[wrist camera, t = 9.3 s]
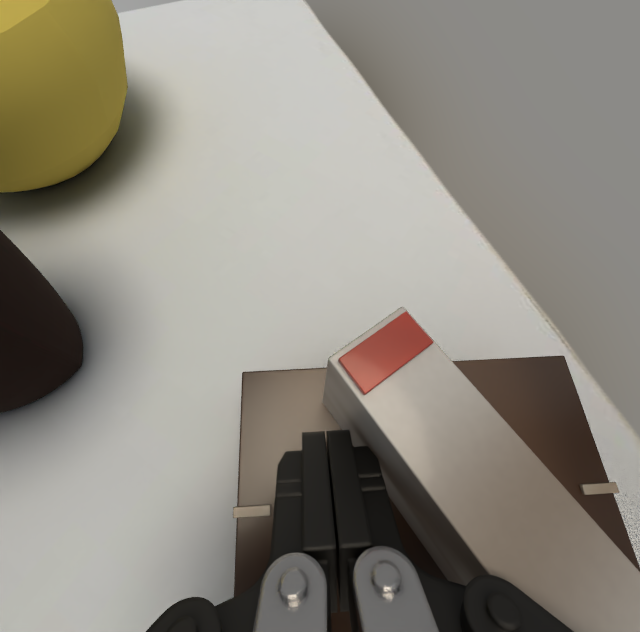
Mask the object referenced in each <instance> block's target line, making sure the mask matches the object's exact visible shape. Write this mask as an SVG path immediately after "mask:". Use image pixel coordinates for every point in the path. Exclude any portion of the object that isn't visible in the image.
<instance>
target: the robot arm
mask: <svg viewBox="0 0 640 632" xmlns="http://www.w3.org/2000/svg"><path fill="white" fill-rule="evenodd" d="M326 439H327V449H326ZM326 439H325V431H319V432H303V433H302V450H299V451H286V452H285V453H284V455H283V457H282V459H281V460H280V462H279V464H278V468H277V479H276V491H275V503H274V515H273V527H272V539H271V551H270V558H269V561H268V564H267V567H266V569H265V571H264V572H263V574H262V576H261V577H260V578H259V580H258V581H257V582H256V583H255V584H254V585H253V586H252V587H251V588H249V589H248V590H247V591H245V592H243V593H242V594H240V595H238V596H236V597H234V598H232V599H229V600H227V601H225V602H223V603H221V604H219V605H217V606H214V605H213V604H212V603H211V602H210V601H209V600H206V599H204V598H200V597H191V598H186V599H184V600H181V601H179V602H177V603H175V604H174V605H172V606H171V607H170V608H168V609H167V610H166V611H165V612H164V613H163V614H162V615H161V616H160V617H159V618H158V619H157V620H156V621H155V622H154V623H153V624H152V625H151V627H150V628H149V629H148V630H147V631H146V632H332V629H331V613H337V584H338V594H339V605H340V612H346V611H349V613H350V622H351V631H352V632H574V631H572V630H571V629H570V628H569V627H567V626H566V625H565V624H563V623H562V622H561V621H560V620H558V619H557V618H556V617H554V616H553V615H552V614H551V613H549V612H548V611H547V610H545V609H544V608H543V607H542V606H540V605H539V604H538V603H536V602H535V601H534V600H533V599H531V598H530V597H529V596H528V595H526V594H525V593H524V592H522V591H521V590H520V589H519V588H517V587H516V586H514V585H513V584H512V583H510V582H508V581H506V580H504V579H502V578H500V577H497V576H492V575H480V576H477V577H475V578H473V579H472V580H471V581H470V582H469V583H468V584H467V586H465V585H461V584H458V583H454V582H451V581H448V580H444V579H441V578H438V577H435V576H432V575H430V574H428V573H426V572H425V571H424V570H422V569H421V568H419V567H418V566H417V565H416V564H415V563H414V562H413V561H412V560H411V558H410V557H409V556H408V554H407V553H406V551H405V549H404V547H403V544H402V541H401V538H400V534H399V531H398V527H397V524H396V520H395V517H394V513H393V510H392V506H391V503H390V499H389V496H388V492H387V490H386V485H385V482H384V478H383V476H382V471H381V468H380V464H379V461H378V458H377V457H376V456H375V454H374V453H373V452H372V451H371V450H370V448H369V447H368V446H359V447H353V445H352V440H351V435H350V431H349V430H333V431H326Z"/></svg>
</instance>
